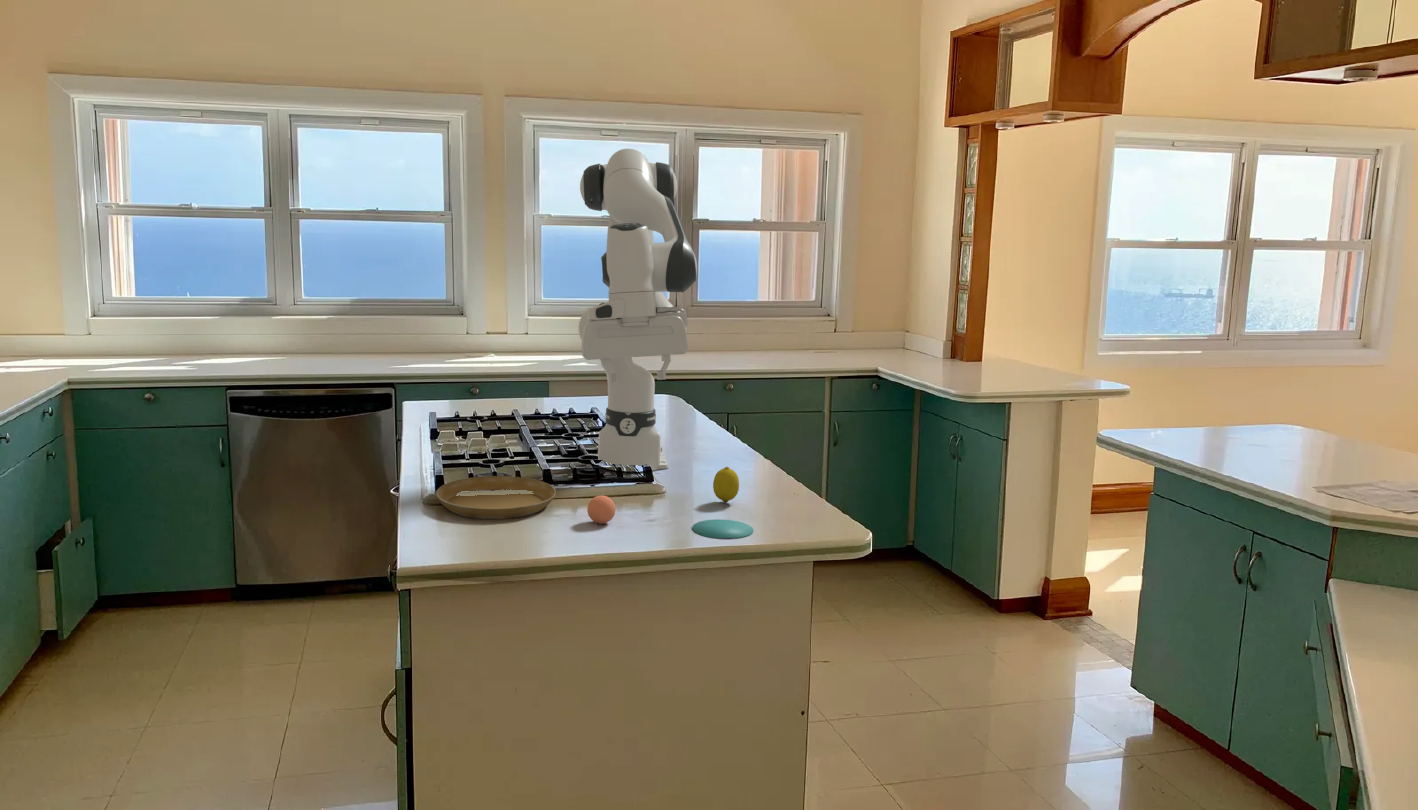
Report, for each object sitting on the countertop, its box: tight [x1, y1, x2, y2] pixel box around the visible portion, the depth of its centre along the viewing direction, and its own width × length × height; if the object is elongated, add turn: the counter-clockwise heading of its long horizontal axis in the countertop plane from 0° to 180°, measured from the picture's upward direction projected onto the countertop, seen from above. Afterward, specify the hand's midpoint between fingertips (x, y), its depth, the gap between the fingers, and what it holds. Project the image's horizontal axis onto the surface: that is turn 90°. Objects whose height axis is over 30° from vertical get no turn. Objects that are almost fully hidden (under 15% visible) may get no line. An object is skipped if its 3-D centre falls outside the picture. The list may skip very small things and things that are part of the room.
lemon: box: [712, 466, 740, 504], centre depth 219 cm, size 6×6×8 cm
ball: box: [587, 494, 617, 524], centre depth 201 cm, size 6×6×6 cm
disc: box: [692, 519, 754, 539], centre depth 201 cm, size 12×12×1 cm
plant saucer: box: [435, 475, 557, 520], centre depth 211 cm, size 24×24×3 cm
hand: (637, 381), depth 196 cm, fingers open, 8 cm apart
